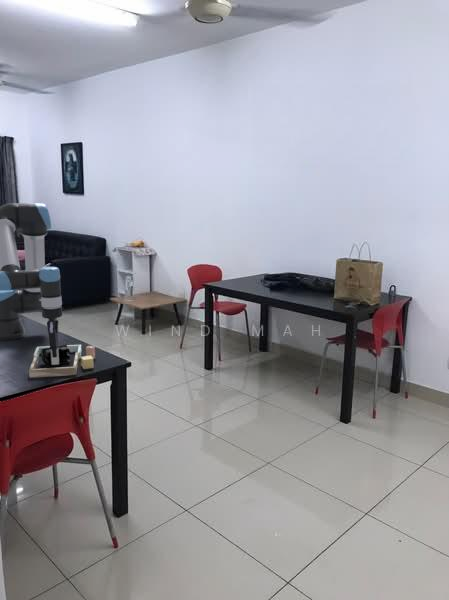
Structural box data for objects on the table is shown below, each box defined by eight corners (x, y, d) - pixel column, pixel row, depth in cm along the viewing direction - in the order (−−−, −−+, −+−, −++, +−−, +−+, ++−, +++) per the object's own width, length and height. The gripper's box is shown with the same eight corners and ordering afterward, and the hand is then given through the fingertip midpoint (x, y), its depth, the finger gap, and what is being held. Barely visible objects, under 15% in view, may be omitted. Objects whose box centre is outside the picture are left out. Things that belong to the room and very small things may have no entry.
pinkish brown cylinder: (86, 357, 204) (86, 345, 203) (95, 356, 205) (94, 345, 204) (86, 359, 201) (85, 348, 200) (95, 359, 202) (94, 348, 200)
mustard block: (81, 366, 194) (81, 356, 193) (91, 364, 196) (90, 355, 195) (83, 369, 191) (83, 360, 190) (93, 367, 192) (93, 358, 192)
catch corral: (37, 353, 207) (36, 346, 206) (81, 350, 211) (81, 344, 211) (33, 361, 197) (33, 355, 196) (80, 359, 201) (80, 352, 201)
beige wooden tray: (35, 361, 197) (35, 354, 196) (78, 359, 201) (78, 352, 201) (29, 377, 181) (28, 370, 180) (76, 374, 185) (75, 367, 184)
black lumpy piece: (65, 358, 202) (64, 343, 201) (71, 362, 197) (70, 346, 195) (41, 363, 196) (40, 347, 195) (47, 367, 191) (45, 351, 189)
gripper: (43, 303, 190) (47, 359, 196) (39, 311, 178) (43, 370, 183) (63, 302, 192) (66, 358, 197) (60, 310, 180) (63, 369, 185)
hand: (55, 363), depth 190 cm, fingers closed
